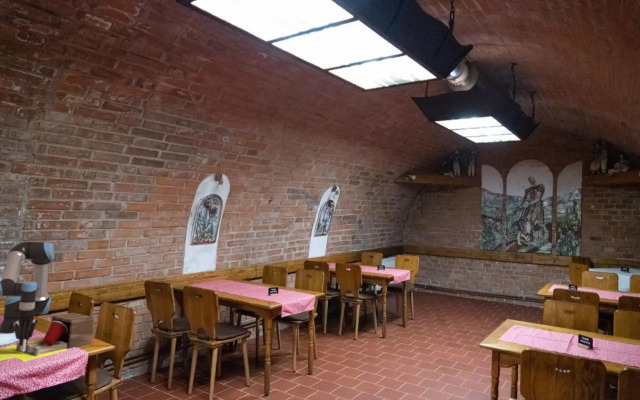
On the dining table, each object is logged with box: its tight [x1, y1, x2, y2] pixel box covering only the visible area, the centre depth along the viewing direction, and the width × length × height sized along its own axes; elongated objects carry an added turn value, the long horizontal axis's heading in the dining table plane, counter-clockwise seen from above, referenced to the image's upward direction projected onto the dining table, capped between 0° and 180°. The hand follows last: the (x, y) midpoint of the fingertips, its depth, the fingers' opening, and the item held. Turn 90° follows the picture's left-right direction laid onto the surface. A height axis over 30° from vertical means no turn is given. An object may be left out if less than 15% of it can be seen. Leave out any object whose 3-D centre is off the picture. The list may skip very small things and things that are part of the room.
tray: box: [15, 340, 69, 357], centre depth 269 cm, size 20×20×4 cm
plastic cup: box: [43, 321, 68, 345], centre depth 277 cm, size 11×11×12 cm
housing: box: [51, 312, 94, 349], centre depth 285 cm, size 20×14×17 cm
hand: (22, 350), depth 259 cm, fingers closed
